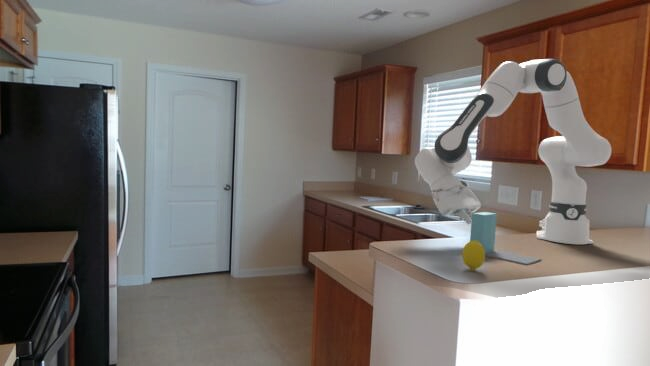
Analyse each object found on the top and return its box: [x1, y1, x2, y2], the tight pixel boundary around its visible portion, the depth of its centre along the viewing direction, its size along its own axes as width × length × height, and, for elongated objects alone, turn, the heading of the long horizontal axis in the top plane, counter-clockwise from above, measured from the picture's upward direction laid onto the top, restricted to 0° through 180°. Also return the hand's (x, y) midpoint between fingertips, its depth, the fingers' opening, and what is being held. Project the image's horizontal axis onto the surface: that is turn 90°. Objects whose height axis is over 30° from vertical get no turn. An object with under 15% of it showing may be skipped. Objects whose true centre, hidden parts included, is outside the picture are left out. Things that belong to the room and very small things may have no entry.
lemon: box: [461, 240, 486, 271], centre depth 113 cm, size 6×6×8 cm
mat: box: [485, 250, 542, 266], centre depth 131 cm, size 13×10×1 cm
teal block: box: [469, 211, 498, 253], centre depth 137 cm, size 4×8×12 cm, turn 132°
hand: (472, 222), depth 140 cm, fingers closed
